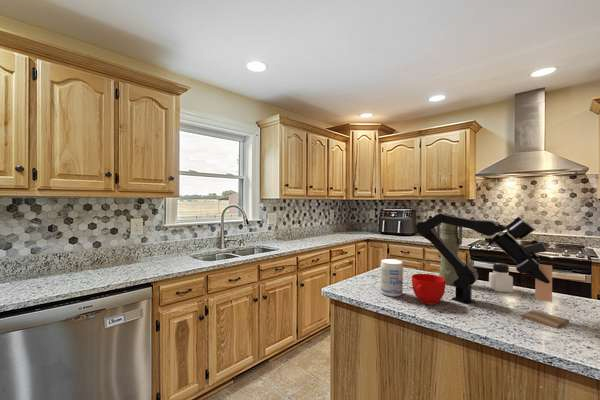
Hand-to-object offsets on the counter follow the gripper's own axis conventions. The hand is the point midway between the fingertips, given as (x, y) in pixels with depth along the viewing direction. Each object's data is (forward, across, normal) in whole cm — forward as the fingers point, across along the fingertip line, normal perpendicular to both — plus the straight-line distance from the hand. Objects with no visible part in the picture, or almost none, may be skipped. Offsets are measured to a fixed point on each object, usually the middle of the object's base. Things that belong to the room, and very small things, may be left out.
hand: (548, 281), depth 100 cm
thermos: (-17, +23, +37) cm, 46 cm away
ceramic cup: (-17, -13, +37) cm, 42 cm away
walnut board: (+9, -2, +10) cm, 14 cm away
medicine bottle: (-2, +28, +22) cm, 36 cm away
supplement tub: (-28, -12, +47) cm, 56 cm away
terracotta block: (+4, 0, +6) cm, 7 cm away
